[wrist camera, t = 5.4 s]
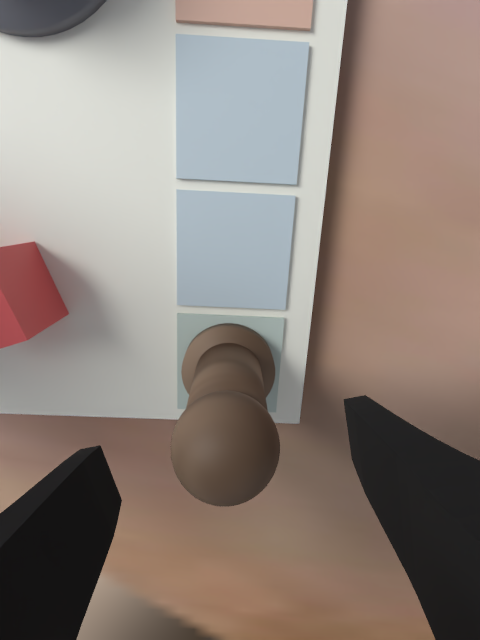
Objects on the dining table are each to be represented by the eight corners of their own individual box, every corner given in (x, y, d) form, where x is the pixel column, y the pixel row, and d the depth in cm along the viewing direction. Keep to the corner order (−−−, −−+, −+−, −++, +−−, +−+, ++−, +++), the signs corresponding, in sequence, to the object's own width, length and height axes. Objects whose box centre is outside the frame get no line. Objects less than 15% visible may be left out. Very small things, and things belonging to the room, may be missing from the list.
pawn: (184, 403, 16) (146, 543, 10) (184, 321, 15) (142, 414, 8) (270, 406, 16) (294, 547, 10) (277, 325, 15) (310, 420, 8)
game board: (-5, 401, 18) (-28, 419, 16) (-154, -429, 10) (-225, -548, 8) (295, 412, 18) (301, 431, 16) (382, -378, 10) (408, -482, 9)
